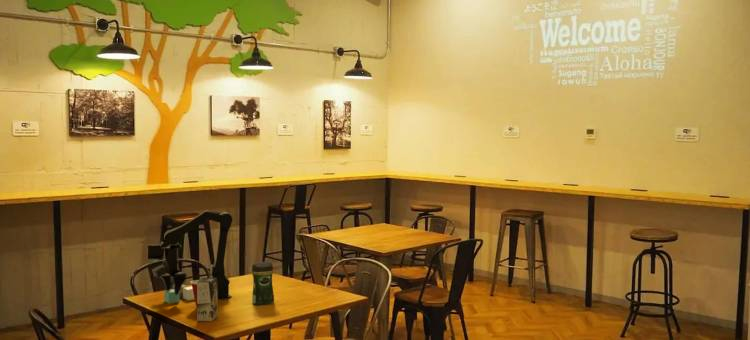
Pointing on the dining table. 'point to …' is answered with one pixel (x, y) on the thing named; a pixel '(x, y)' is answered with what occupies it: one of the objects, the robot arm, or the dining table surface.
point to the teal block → (171, 296)
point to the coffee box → (207, 299)
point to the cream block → (188, 293)
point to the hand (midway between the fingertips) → (172, 292)
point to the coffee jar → (262, 283)
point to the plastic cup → (194, 290)
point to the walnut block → (181, 290)
